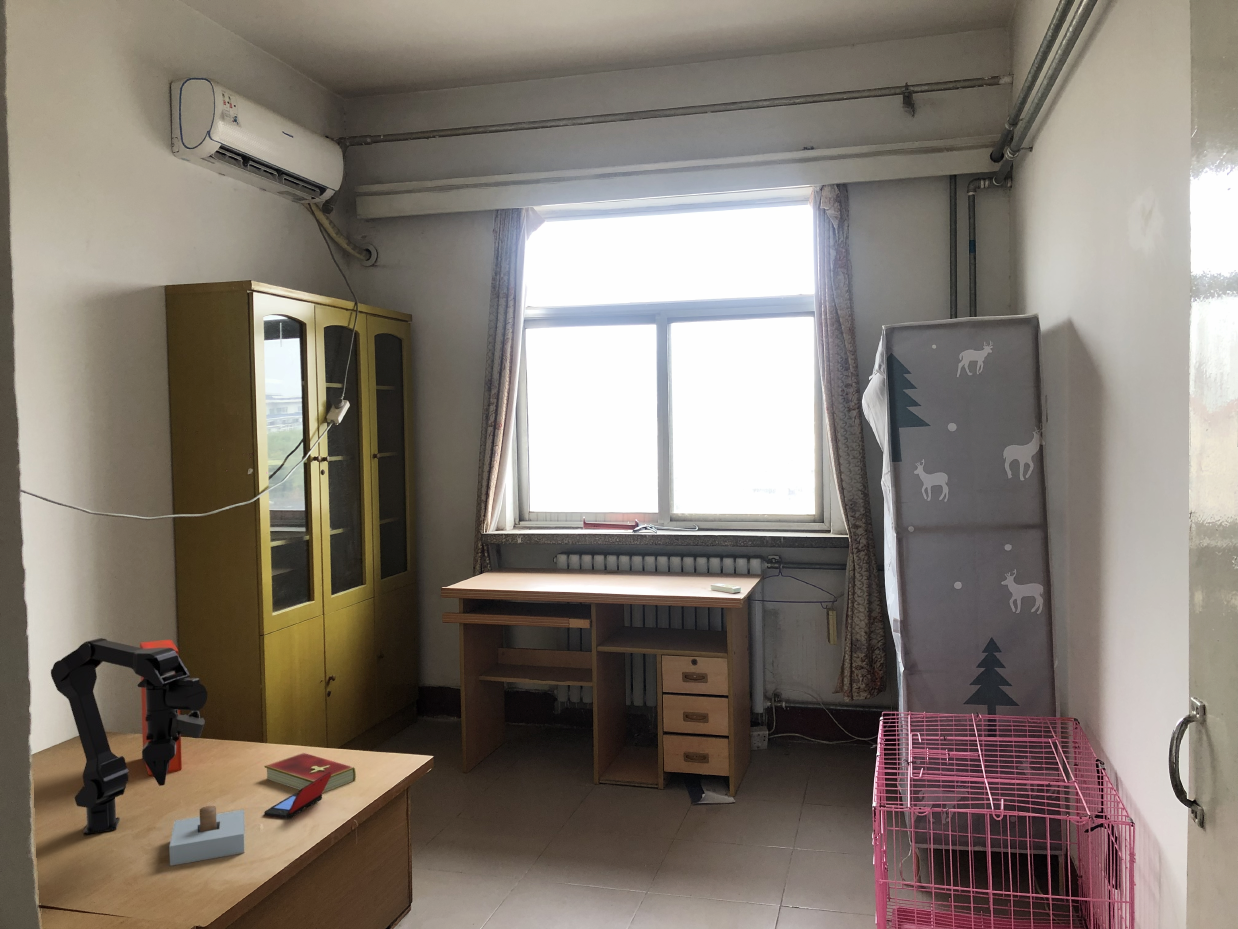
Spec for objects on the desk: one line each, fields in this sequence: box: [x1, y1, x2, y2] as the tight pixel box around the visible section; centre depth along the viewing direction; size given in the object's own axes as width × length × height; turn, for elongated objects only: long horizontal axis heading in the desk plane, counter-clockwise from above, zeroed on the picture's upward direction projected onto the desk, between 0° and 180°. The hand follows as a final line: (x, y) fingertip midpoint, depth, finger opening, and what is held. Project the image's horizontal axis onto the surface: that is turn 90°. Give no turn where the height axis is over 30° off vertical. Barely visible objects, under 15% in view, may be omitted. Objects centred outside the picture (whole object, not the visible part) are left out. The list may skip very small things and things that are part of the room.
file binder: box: [139, 639, 183, 777], centre depth 248 cm, size 8×17×32 cm, turn 32°
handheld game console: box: [263, 772, 332, 820], centre depth 215 cm, size 12×11×7 cm
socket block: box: [169, 809, 246, 867], centre depth 196 cm, size 14×14×4 cm
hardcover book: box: [264, 752, 357, 794], centre depth 233 cm, size 12×21×4 cm, turn 54°
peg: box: [199, 805, 217, 832], centre depth 196 cm, size 3×3×8 cm
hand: (163, 778), depth 200 cm, fingers open, 9 cm apart
